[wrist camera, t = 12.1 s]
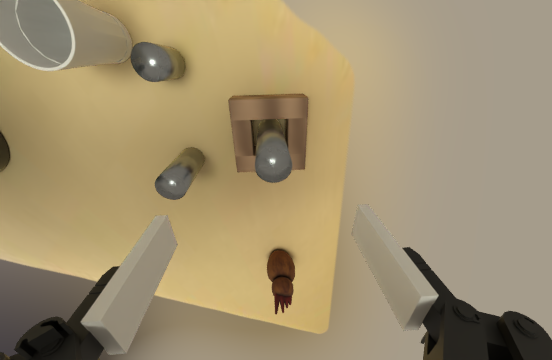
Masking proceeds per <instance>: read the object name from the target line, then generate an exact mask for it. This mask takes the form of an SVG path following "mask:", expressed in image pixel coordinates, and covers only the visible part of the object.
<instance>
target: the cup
mask: <svg viewBox="0 0 552 360" xmlns="http://www.w3.org/2000/svg"><path fill="white" fill-rule="evenodd" d="M0 46H1V47H2V48H3V49H4V50H5V51H7V52H8V53H9V54H10V55H11V56H13V57H14V58H16V59H17V60H19V61H20V62H22V63H24V64H26V65H28V66H30V67H33V68H35V69H39V70H44V71H56V70H63V69H71V68H78V67H85V66H93V65H102V64H110V63H123V62H125V61H126V60H128V58H129V57H130V55H131V51H132V40H131V37H130V34H129V32H128V30H127V29H126V27H125V26H124V25H123V23H122V22H121V21H120V20H118V19H117V18H116V17H114V16H113V15H111V14H109V13H106V12H103V11H100V10H98V9H96V8H93V7H91V6H89V5H87V4H85V3H83V2H81V1H78V0H0Z"/></svg>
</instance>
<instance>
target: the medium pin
mask: <svg viewBox="0 0 552 360" xmlns="http://www.w3.org/2000/svg"><path fill="white" fill-rule="evenodd" d="M204 161H205V158H204V155H203V153H202V152H201V151H200V150H198V149H196V148H192V147H190V148H186V149H184V150H183V151H182V152H181V153H180V155H179V156H178V157H177V158H176V159H175V160H174V161H173V162H172V163H171V164H170V165H169V166H168V167H167V168H166V169H165V170H164V171H163V172H162V173H161V174H160V176H159V177H158V178H157V179H156V181H155V188H156V190H157V192H158V193H159V194H160V195H161V196H163V197H165V198H167V199H172V200H176V199H180V198H182V197H183V196H184V195H185V193H186V192H187V190H188V188H189V187H190V185H191V184H192V182H193V180H194V179H195V177H196V175H197V174H198V172H199V171H200V169H201V167H202V166H203V164H204Z"/></svg>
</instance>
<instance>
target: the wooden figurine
mask: <svg viewBox="0 0 552 360" xmlns="http://www.w3.org/2000/svg"><path fill="white" fill-rule="evenodd" d="M267 273H268V277H269V279H270V280H271V281H272V282H273V283H272V293H273V295H274V298H275V314H277V311H278V306H279V302H280V305H281V309H282V313H284V302H285V305H286V308H288V303H289V305H291V301H292V295H293V284H292V281H293V280H294V277H295V266H294V263H293V260H292V259H291V257H290V256H289V255H288V253H286V252H284V251H281V250H277V251H274V252H273V253H272V254H271V255H270V257H269V259H268V263H267Z"/></svg>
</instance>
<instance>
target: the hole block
mask: <svg viewBox="0 0 552 360" xmlns="http://www.w3.org/2000/svg"><path fill="white" fill-rule="evenodd" d="M228 102H229V110H230V118H231V126H232V133H233V141H234V149H235V157H236V165H237V172H256V170H255V157H256V146H254V136H253V123H252V120H263V119H285V140H286V144H287V147H288V150H289V153H290V157H291V160H292V170H302V169H305V157H306V137H307V117H308V97H307V96H305V95H304V94H281V95H249V96H232V97H231V98H230V99H229V100H228Z"/></svg>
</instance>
